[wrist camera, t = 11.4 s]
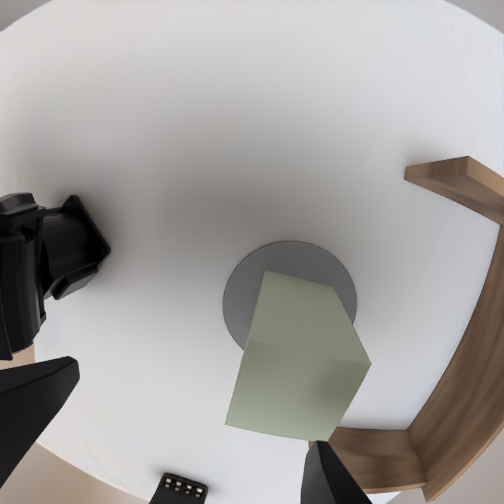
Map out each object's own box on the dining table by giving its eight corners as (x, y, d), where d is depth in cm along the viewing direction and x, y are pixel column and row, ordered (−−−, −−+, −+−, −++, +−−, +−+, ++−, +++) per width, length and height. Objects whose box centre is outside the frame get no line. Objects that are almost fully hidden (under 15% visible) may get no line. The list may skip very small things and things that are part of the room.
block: (248, 330, 21) (224, 424, 11) (265, 269, 20) (249, 338, 10) (311, 345, 21) (326, 442, 11) (332, 286, 20) (371, 363, 10)
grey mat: (198, 292, 21) (196, 294, 21) (306, 212, 19) (307, 213, 19) (274, 381, 22) (274, 384, 22) (376, 318, 20) (378, 321, 20)
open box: (307, 430, 23) (311, 512, 13) (406, 166, 18) (492, 152, 8) (408, 435, 23) (433, 500, 13) (508, 218, 17) (585, 235, 7)
